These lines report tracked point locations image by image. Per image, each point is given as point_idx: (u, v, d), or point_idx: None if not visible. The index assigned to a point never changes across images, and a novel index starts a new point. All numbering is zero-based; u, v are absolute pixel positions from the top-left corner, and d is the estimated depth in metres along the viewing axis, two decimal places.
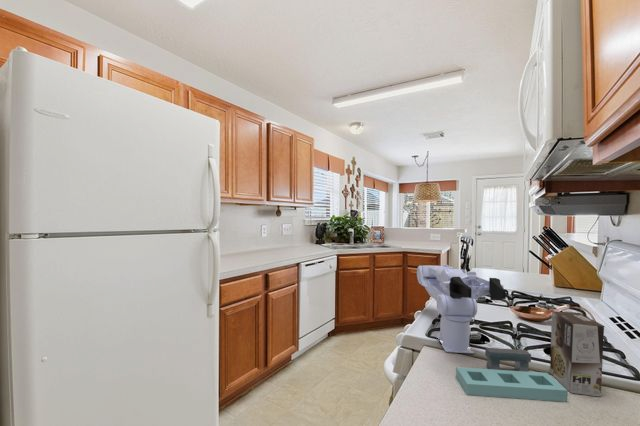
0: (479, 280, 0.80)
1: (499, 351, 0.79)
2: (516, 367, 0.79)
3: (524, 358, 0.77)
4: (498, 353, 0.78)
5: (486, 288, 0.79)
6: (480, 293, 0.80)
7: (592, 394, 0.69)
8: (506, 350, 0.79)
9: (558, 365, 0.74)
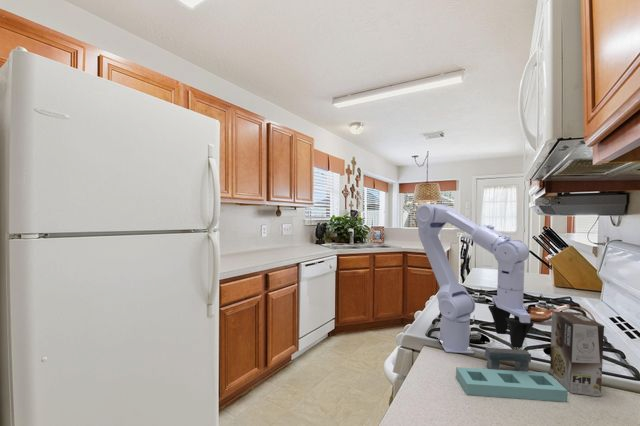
0: None
1: (499, 351, 0.79)
2: (516, 367, 0.79)
3: (524, 358, 0.77)
4: (498, 353, 0.78)
5: None
6: None
7: (592, 394, 0.69)
8: (506, 350, 0.79)
9: (558, 365, 0.74)
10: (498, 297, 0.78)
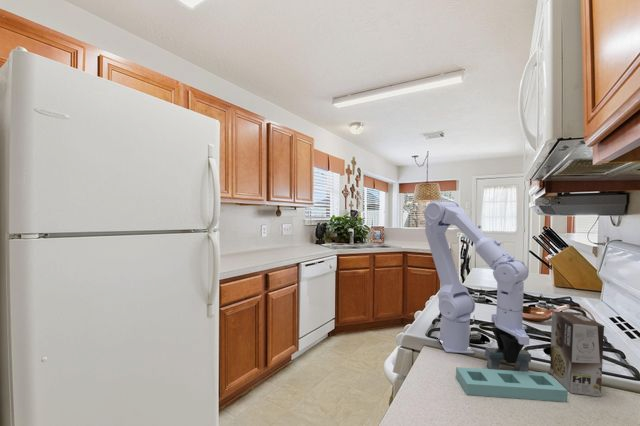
0: None
1: (499, 351, 0.79)
2: (516, 367, 0.79)
3: (524, 358, 0.77)
4: (498, 353, 0.78)
5: None
6: None
7: (592, 394, 0.69)
8: None
9: (558, 365, 0.74)
10: (497, 317, 0.79)
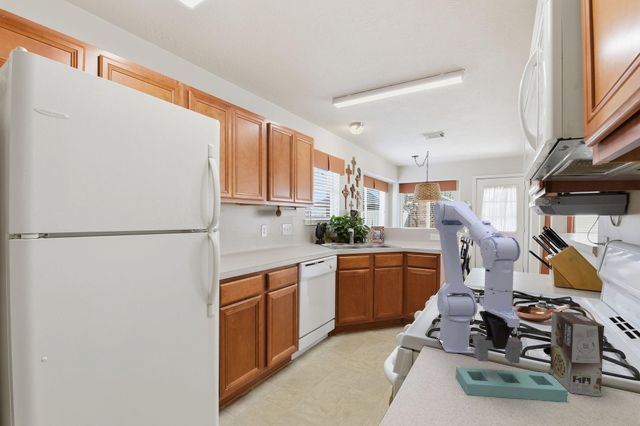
0: None
1: (487, 338, 0.72)
2: (506, 356, 0.72)
3: (515, 346, 0.70)
4: (487, 341, 0.71)
5: None
6: None
7: (592, 394, 0.69)
8: None
9: (558, 365, 0.74)
10: (485, 299, 0.72)
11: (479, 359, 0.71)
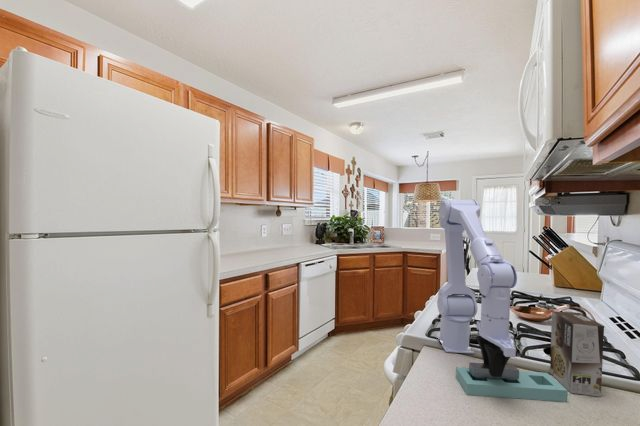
0: None
1: (484, 366, 0.71)
2: None
3: (511, 375, 0.69)
4: (483, 369, 0.70)
5: None
6: None
7: (592, 394, 0.69)
8: None
9: (558, 365, 0.74)
10: (481, 325, 0.71)
11: None
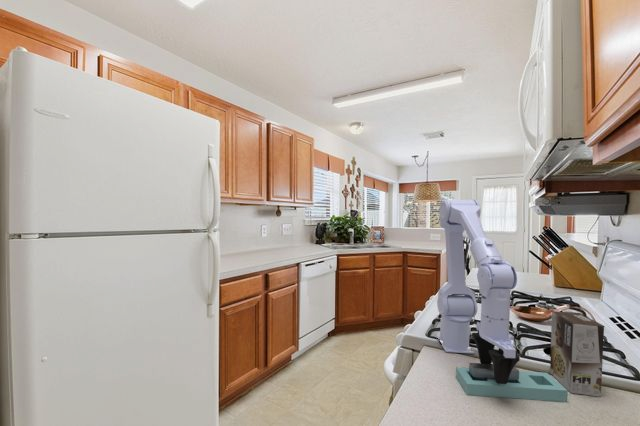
0: None
1: (484, 366, 0.71)
2: None
3: (511, 375, 0.69)
4: (483, 370, 0.70)
5: None
6: None
7: (592, 394, 0.69)
8: (492, 366, 0.71)
9: (558, 365, 0.74)
10: (481, 326, 0.71)
11: None
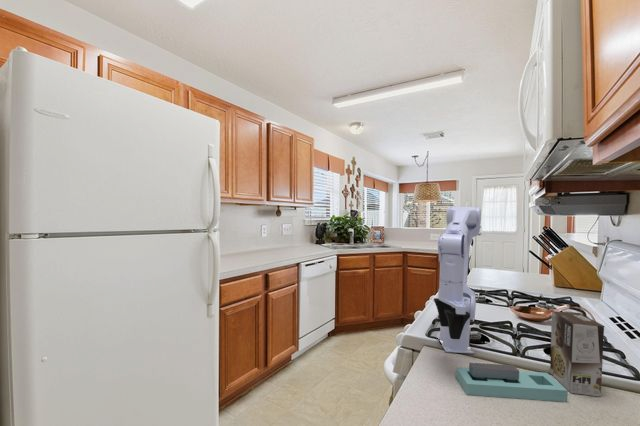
0: None
1: (484, 366, 0.71)
2: None
3: (511, 375, 0.69)
4: (483, 370, 0.70)
5: None
6: None
7: (592, 394, 0.69)
8: (492, 366, 0.71)
9: (558, 365, 0.74)
10: (439, 289, 0.79)
11: None
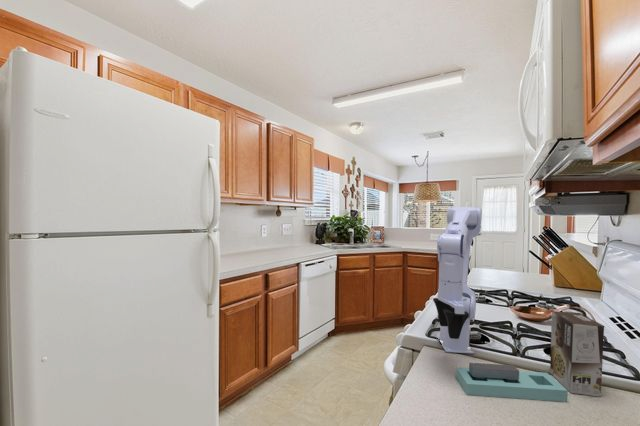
0: None
1: (484, 366, 0.71)
2: None
3: (511, 375, 0.69)
4: (483, 370, 0.70)
5: None
6: None
7: (592, 394, 0.69)
8: (492, 366, 0.71)
9: (558, 365, 0.74)
10: (439, 289, 0.79)
11: None
